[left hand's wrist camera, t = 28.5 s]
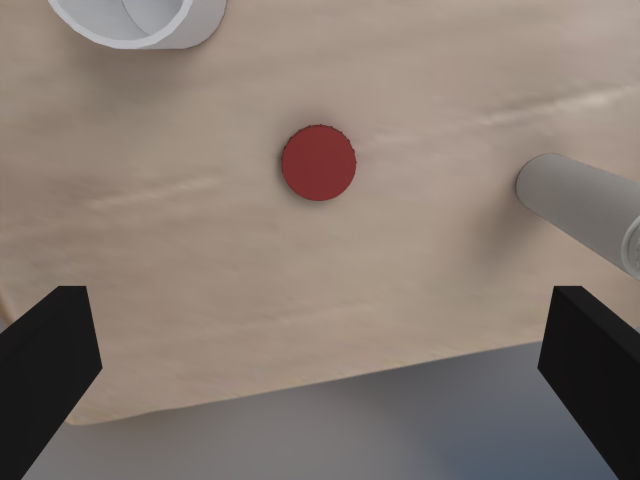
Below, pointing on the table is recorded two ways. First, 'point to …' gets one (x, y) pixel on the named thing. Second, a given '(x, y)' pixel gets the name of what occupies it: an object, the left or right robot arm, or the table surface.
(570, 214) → the jar
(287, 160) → the lid
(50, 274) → the table surface
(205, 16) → the mug
